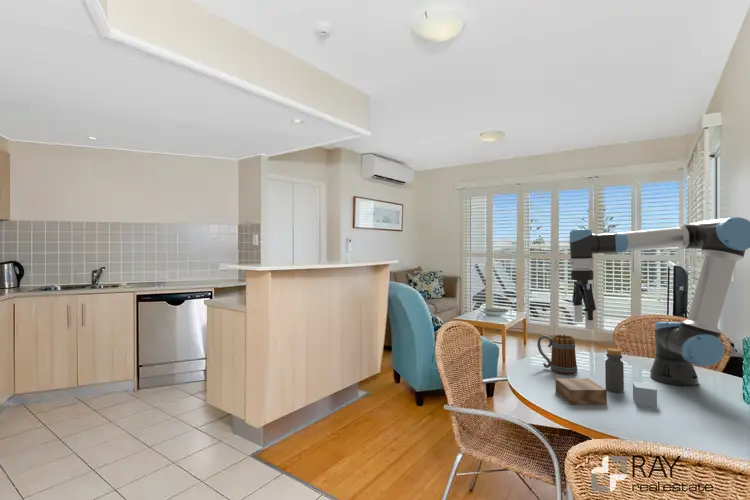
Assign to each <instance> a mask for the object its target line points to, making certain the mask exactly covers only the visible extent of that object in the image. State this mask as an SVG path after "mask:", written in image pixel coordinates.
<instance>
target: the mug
mask: <svg viewBox="0 0 750 500" xmlns="http://www.w3.org/2000/svg"><path fill="white" fill-rule="evenodd" d="M543 339H546V340H548V342H549V343H548V344H547V347H548V348H551V357H548V356H547V355H546V354H545V353H544V351H543V348H542V345H541V341H542V340H543ZM575 343H576V342H575V338H574V336H572V335H571V336H570V335H567V334H555V335H553V336H552V337H551V336H549V335H548V334H544V335H541V336H540V337H539V338H538V339H537V343H536V345H537V350H538V352H539V353H540V355H541V356H542V357H543V358H544V360H545V361H546V362H547V363H546V362H543V363H542V365H543V367H544V368H546V369H548V368H550V370H551V372H552V373H555V374H557V375H563V376H573V375H576V374H577V373H578V365H577V356H576V355H577V354H576V344H575Z"/></svg>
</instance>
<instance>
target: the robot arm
mask: <svg viewBox="0 0 750 500" xmlns="http://www.w3.org/2000/svg"><path fill="white" fill-rule="evenodd" d="M568 242H569V252H570V253H569V254H570V255H569V256H570V261H569V262H568V263H569V265H570V269H572V270H570V277H571V278H570V279H571V280H573V289H572V290H573V292H572V301H571V302H572V304H573V307H574V308H573V310H574V311H573V312H574V322H575V323H583V322H584V324H585V329H586V330H594V329H595V315H594V311H596V310H597V308H596V302H595V298H594V293H593V292H594V291H593V285H592V283H589V281H592V280H594V270H592V269H593V268H594V260H593V259H594V257H593V255H594V254H619V253H620V254H621V253H622V254H623V253H625V252H628V251H635V250H636V251H637V250H638V251H641V250H651V249H652V250H653V249H665V248H679V249H681V250H684V249H685V250H687V249H696V250H701V252H702V254H703V255H704V259H703V263H702V266H701V269H700V273H699V277H698V280H697V284H696V288H695V291H694V294H693V298H692V302H691V304H690V308H689V312H688V314H687V318H686V319H684V320H681V321H656V322H655V324H654V330H653V331H654V345H655V346H654V351H655V352H654V354H655V357H654V360H653V363H652V366H651V367H650V370H649V373H650V374H649V375H650V378H652V379H653V380H655V381H658V382H660V383H665V384H668V385H675V386H684V387H685V386H686V387H688V386H690V387H691V386H696V385H698V384H699V377H698V374H697V372H696V369H695V367H694V365H696V366H699V367H709V366H710V367H711V366H712V365H715V364H717V363H719V361H721V360H722V359H723V357H724V355H725V346H724V344H723V342H722V341H721V335H722V331H721V329H719V327H718V325H719V321H720V318H721V314H722V311H723V308H724V306H725V305H724V304H725V301H726V298H727V294H728V291H729V288H730V284H731V280H732V276H733V273H734V270H735V267H736V264H737V262H738V261H740V260H742V259H744V257H745V253H746V250H749V249H750V220H748V219H746V218H744V217H739V216H736V217H735V216H726V217H721V218H713V219H705V220H701V221H696V222H692V223H686V224H678V225H676V227H669V228H658V229H646V230H636V231H623V232H608V233H607V232H606V233H593V232H592V229H590V228H582V229H581V228H580V229H578V228H577V229H571V231H570V232H569V241H568ZM583 306H584V308H583ZM583 311H584V316H583ZM583 318H584V319H583ZM583 320H585V321H583Z"/></svg>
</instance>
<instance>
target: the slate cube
mask: <svg viewBox="0 0 750 500" xmlns="http://www.w3.org/2000/svg"><path fill="white" fill-rule="evenodd" d="M632 400H633V402H634V404H635V406H641V407H650V408H654V409H655V408H656V409H658V390H657V388H656V386H655V384H653V383H646V382H639V381H633V382H632Z"/></svg>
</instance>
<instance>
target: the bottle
mask: <svg viewBox="0 0 750 500" xmlns="http://www.w3.org/2000/svg"><path fill="white" fill-rule="evenodd" d="M605 356H606V357H607V358H606V359H605V361H604V363H605V364H604V365H605V366H604V369H605V371H604V372H605V373H604V375H605V377H604V378H605V379H604V380H605V389H606V390H607V391H609V392H612V393H623V392H625V391H624V390H625V385H624V384H625V377H624V374H625V373H624V372H625V371H624V362H623V361H622V360H621V359H622V358H623V355H622V349H620V348H616V347H608V348H606V353H605Z"/></svg>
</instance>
